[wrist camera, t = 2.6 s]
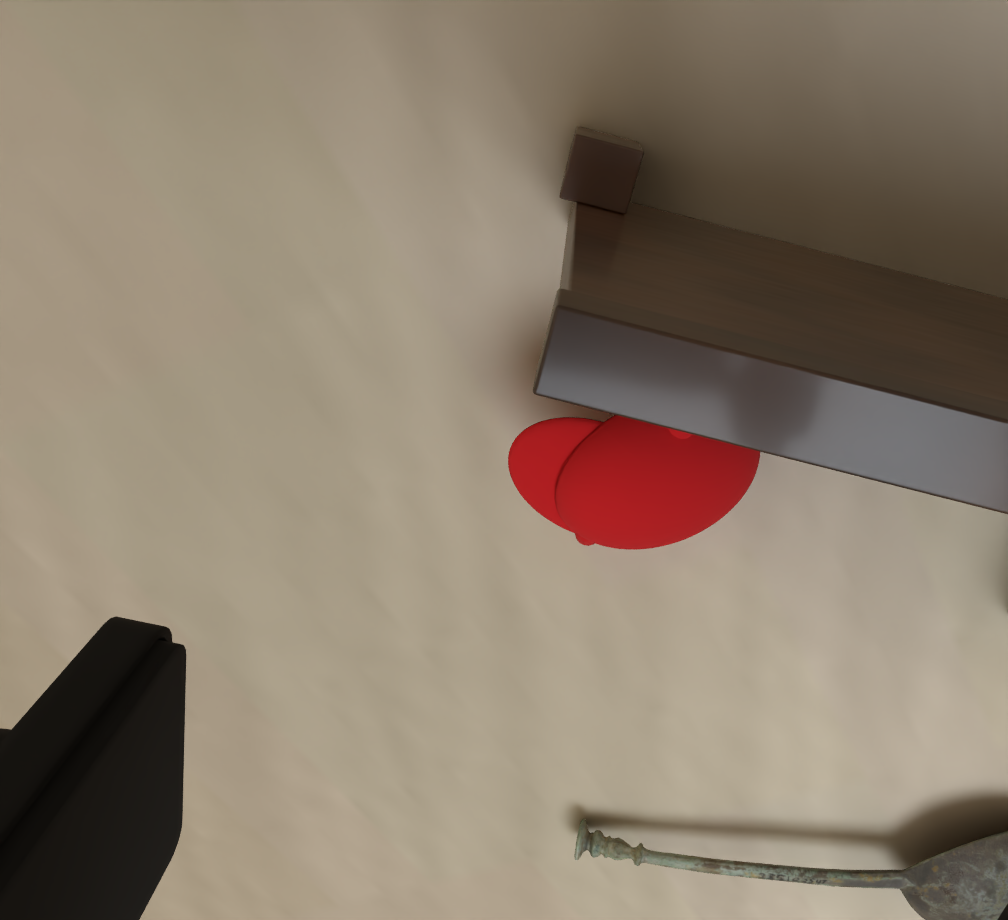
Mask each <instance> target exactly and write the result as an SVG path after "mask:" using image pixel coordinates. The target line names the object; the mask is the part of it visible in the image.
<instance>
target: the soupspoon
mask: <svg viewBox="0 0 1008 920" xmlns="http://www.w3.org/2000/svg"><path fill="white" fill-rule="evenodd" d="M586 850H588V851H589V852H590V854H591V856H592V857H598V856H599V855H600V854H603V855H604V857H605V858H607V857H610V858H612V859H614V860H622V859H627V858H631V859H633V861H634V864H635V865H637V866H639V865H640V864H641V863H649V864H654V865H660V866H665V867H672V868H678V869H685V870H691V871H697V872H704V873H712V874H721V875H730V876H740V877H749V878H758V879H769V880H779V881H788V882H798V883H807V884H817V885H827V886H840V887H862V888H897V889H900V890H901V891H902V893H903V895H904V896H905V898H906V900H907V901H908V903H909V904H910V906H911V907H912V908H913V909H914V910H915V911H916V912H917V913H918V914H919V915H920V916H921V917H922V918H924V919H925V920H997V919H998V918H999V916H1000V915H1001V913H1002V912H1003V910H1004V908H1005V907H1006V905H1007V904H1008V831H1005V832H1002V833H998V834H995V835H992V836H989V837H985V838H982V839H978V840H976V841H973V842H970V843H967V844H964V845H962V846H959V847H956V848H954V849H951V850H949V851H946V852H943V853H941V854H938V855H936V856H933V857H931V858H928V859H926V860H923V861H922V862H920V863H917V864H915V865H913V866H911V867H909V868H907V869H904V870H840V869H820V868H806V867H794V866H783V865H772V864H762V863H750V862H740V861H730V860H720V859H711V858H703V857H696V856H687V855H680V854H673V853H663V852H656V851H651V850H647V849H645V848H644V847H643V844H642V843H640V844H639V845H638V846H637V847H635V848H633V847H631V846H630V845H629V844H627V843H626V842H625V841H623V840H622V839H620V838H615V839H614V838H611V837H610V836H608V837H604V835H603V833H602V832H601V831H600V830H596V831H595V832H594V833H590V832H589V831H588V826H587V823H586V820H585V819H583V820H582V821H581V823H580V827H579V831H578V836H577V842H576V849H575V855H574V856H575V860H578V859H579V858H580V857H581V855H582V853H583V852H584V851H586Z"/></svg>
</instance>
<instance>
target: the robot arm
mask: <svg viewBox="0 0 1008 920" xmlns="http://www.w3.org/2000/svg"><path fill="white" fill-rule="evenodd" d="M185 683H186V649H185V647H184V645H181V644H177V643H172V634H171V632H170V629H169V628H167V627H164V626H159V625H155V624H150V623H145V622H140V621H135V620H130V619H125V618H121V617H113V618H110V619H109V620H108V621H107V622H106V623H105V624H104V625H103V626H102V627H101V628H100V629H99V630H98V631H97V633H96V634H95V635H94V636H93V637H92V638H91V639H90V641H89V642H88V643H87V644H86V645H85V646H84V647H83V649H82V650H81V651H80V652H79V653H78V654H77V656H76V657H75V658H74V659H73V660H72V661H71V662H70V664H69V665H68V666H67V667H66V668H65V669H64V670H63V672H62V673H61V674H60V675H59V676H58V677H57V678H56V680H55V681H54V682H53V683H52V684H51V685H50V686H49V688H48V689H47V690H46V691H45V692H44V693H43V694H42V696H41V697H40V698H39V699H38V700H37V701H36V702H35V704H34V705H33V706H32V707H31V708H30V709H29V710H28V712H27V713H26V714H25V715H24V716H23V717H22V718H21V720H20V721H19V722H18V723H17V724H16V725H15V726H14V728H13V729H12V730H9V729H0V920H139V919H140V917H141V915H142V913H143V912H144V910H145V908H146V906H147V904H148V902H149V900H150V898H151V896H152V895H153V893H154V891H155V889H156V887H157V885H158V883H159V881H160V879H161V878H162V876H163V874H164V872H165V870H166V868H167V866H168V864H169V863H170V861H171V858H172V856H173V854H174V852H175V849H176V846H177V844H178V840H179V837H180V833H181V828H182V812H183V769H184V726H185ZM997 920H1008V904H1007V905H1006V907H1005V908H1004V910H1003V912H1002V913H1001V915H1000V916H999V918H998V919H997Z"/></svg>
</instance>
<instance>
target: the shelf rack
mask: <svg viewBox="0 0 1008 920" xmlns="http://www.w3.org/2000/svg"><path fill="white" fill-rule="evenodd" d="M643 154H644V152H643V150H642V148H641V146H640V145H639V143H638V142H637V141H633V140H630V139H626V138H622V137H618V136H614V135H610V134H606V133H603V132H599V131H595V130H591V129H587V128H583V127H579V126H578V127H577V128H576V131H575V135H574V139H573V143H572V147H571V151H570V155H569V159H568V163H567V167H566V171H565V174H564V178H563V182H562V187H561V192H560V198H562V199H565V200H569V201H573V206H572V210H571V214H570V217H569V221H568V227H567V235H566V243H565V251H564V259H563V266H562V274H561V282H560V289H559V290H558V291H557V294H556V298H555V302H554V305H553V309H552V313H551V317H550V321H549V324H548V328H547V332H546V336H545V339H544V343H543V347H542V351H541V354H540V358H539V362H538V366H537V370H536V375H535V381H534V387H533V393H534V394H536V395H539V396H543V397H547V398H551V399H555V400H559V401H563V402H567V403H571V404H575V405H579V406H583V407H587V408H591V409H595V410H599V411H602V412H606V413H610V414H614V415H618V416H622V417H626V418H630V419H634V420H638V421H642V422H646V423H650V424H654V425H658V426H662V427H666V428H670V429H674V430H678V431H681V432H685V433H689V434H693V435H697V436H701V437H705V438H709V439H713V440H717V441H721V442H725V443H729V444H733V445H737V446H741V447H745V448H749V449H753V450H756V451H760V452H764V453H768V454H772V455H776V456H780V457H784V458H788V459H792V460H796V461H800V462H804V463H808V464H812V465H816V466H820V467H824V468H828V469H832V470H835V471H839V472H843V473H847V474H851V475H855V476H859V477H863V478H867V479H871V480H875V481H879V482H883V483H887V484H891V485H895V486H899V487H903V488H907V489H911V490H914V491H918V492H922V493H926V494H930V495H934V496H938V497H942V498H946V499H950V500H954V501H958V502H962V503H966V504H970V505H974V506H978V507H982V508H986V509H989V510H993V511H997V512H1001V513H1005V514H1008V299H1004V298H1000V297H996V296H992V295H988V294H984V293H980V292H976V291H973V290H969V289H965V288H961V287H957V286H953V285H949V284H945V283H942V282H938V281H934V280H930V279H926V278H922V277H918V276H914V275H911V274H907V273H903V272H899V271H895V270H891V269H887V268H883V267H880V266H876V265H872V264H868V263H864V262H860V261H856V260H852V259H849V258H845V257H841V256H837V255H833V254H829V253H825V252H821V251H818V250H814V249H810V248H806V247H802V246H798V245H794V244H790V243H787V242H783V241H779V240H775V239H771V238H767V237H763V236H759V235H756V234H752V233H748V232H744V231H740V230H736V229H732V228H728V227H725V226H721V225H717V224H713V223H709V222H705V221H701V220H697V219H694V218H690V217H686V216H682V215H678V214H674V213H670V212H666V211H663V210H659V209H655V208H651V207H647V206H643V205H639V204H635V203H632V202H630V199H631V196H632V192H633V189H634V185H635V182H636V178H637V175H638V172H639V168H640V165H641V161H642V158H643Z"/></svg>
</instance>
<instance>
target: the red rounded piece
mask: <svg viewBox="0 0 1008 920" xmlns="http://www.w3.org/2000/svg"><path fill="white" fill-rule="evenodd" d="M759 458H760V451H756V450H753V449H749V448H745V447H741V446H737V445H733V444H729V443H725V442H721V441H717V440H713V439H709V438H705V437H701V436H697V435H693V434H689V433H685V432H681V431H678V430H674V429H670V428H666V427H662V426H658V425H654V424H650V423H646V422H642V421H638V420H634V419H630V418H626V417H622V416H618V415H614V416H613V417H611V418H610V419H608V420H607V421H605V422H601V421H597V420H592V419H586V418H575V417H563V418H554V419H549V420H544V421H541V422H538V423H536V424H533V425H532V426H530V427H528V428H526V429H525V430H524V431H522V432H521V433H520V434H519V435H518V436H517V437H516V439H515V440H514V442H513V443H512V446H511V448H510V451H509V456H508V465H509V471H510V475H511V478H512V480H513V482H514V484H515V486H516V488H517V490H518V491H519V493H520V494H521V495H522V497H523V498H524V499H525V500H526V501H527V502H528V503H529V504H530V505H531V506H532V507H533V508H534V509H535V510H536V511H537V512H538V513H540V514H541V515H542V516H544V517H545V518H547V519H548V520H550V521H551V522H553V523H555V524H556V525H558V526H560V527H562V528H564V529H566V530H569V531H571V532H573V533H575V535H576V539H577V540H578V541H579V542H580V543H581V544H583V545H588V546H589V545H592V544H594V543H596V544H599V545H602V546H606V547H611V548H618V549H647V548H655V547H660V546H664V545H668V544H672V543H675V542H678V541H681V540H684V539H686V538H689V537H691V536H693V535H695V534H697V533H699V532H701V531H703V530H705V529H706V528H708V527H710V526H711V525H713V524H714V523H716V522H717V521H718V520H720V519H721V518H722V517H723V516H725V515H726V514H727V513H728V512H729V511H730V510H731V509H732V508H733V507H734V506H735V505H736V504H737V503H738V502H739V501H740V499H741V498H742V497H743V495H744V494H745V493H746V491H747V490H748V488H749V486H750V485H751V483H752V481H753V479H754V476H755V474H756V471H757V468H758V463H759Z"/></svg>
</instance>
